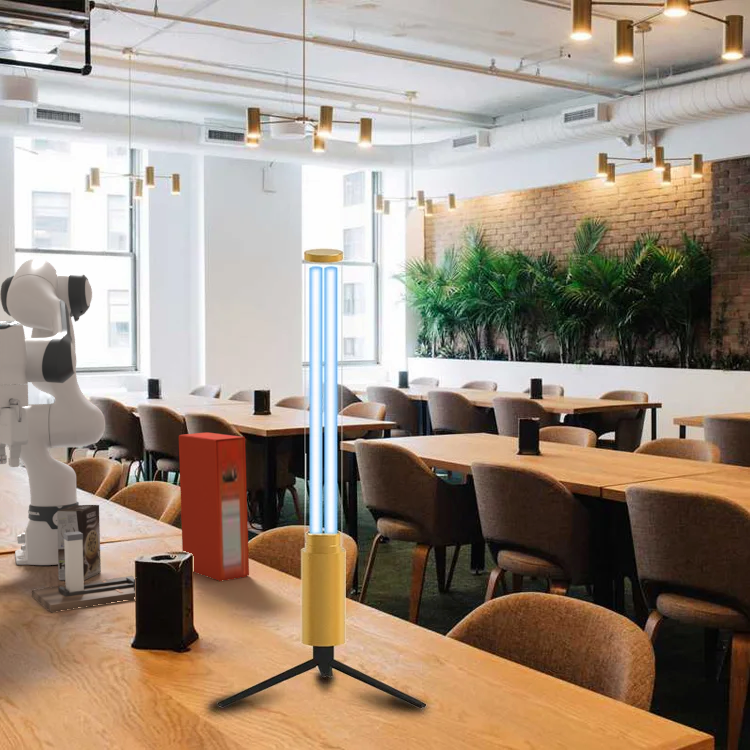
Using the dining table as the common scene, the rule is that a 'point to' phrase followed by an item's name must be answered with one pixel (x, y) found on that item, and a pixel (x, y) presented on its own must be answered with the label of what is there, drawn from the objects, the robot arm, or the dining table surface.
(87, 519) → the coffee box
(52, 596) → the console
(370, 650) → the dining table surface
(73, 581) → the fader tab
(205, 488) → the file binder
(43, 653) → the dining table surface
